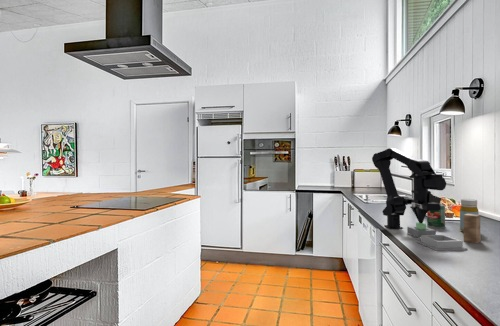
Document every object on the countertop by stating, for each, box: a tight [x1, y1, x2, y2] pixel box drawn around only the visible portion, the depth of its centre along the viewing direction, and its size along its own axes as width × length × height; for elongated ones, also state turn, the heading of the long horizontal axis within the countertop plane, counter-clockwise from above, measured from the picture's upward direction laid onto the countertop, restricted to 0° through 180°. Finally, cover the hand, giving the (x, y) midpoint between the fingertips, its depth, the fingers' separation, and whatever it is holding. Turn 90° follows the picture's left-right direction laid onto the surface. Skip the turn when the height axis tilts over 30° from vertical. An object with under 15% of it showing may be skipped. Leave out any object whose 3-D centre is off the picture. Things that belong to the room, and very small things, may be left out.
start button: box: [415, 221, 427, 230], centre depth 136 cm, size 4×4×5 cm
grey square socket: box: [416, 234, 468, 252], centre depth 119 cm, size 12×12×3 cm
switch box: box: [406, 226, 437, 239], centre depth 136 cm, size 8×8×3 cm
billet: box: [463, 214, 482, 244], centre depth 125 cm, size 4×4×11 cm
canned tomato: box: [426, 203, 446, 229], centre depth 154 cm, size 8×8×11 cm
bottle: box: [459, 198, 479, 233], centre depth 141 cm, size 7×7×15 cm
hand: (420, 223), depth 136 cm, fingers closed, pressing on start button
